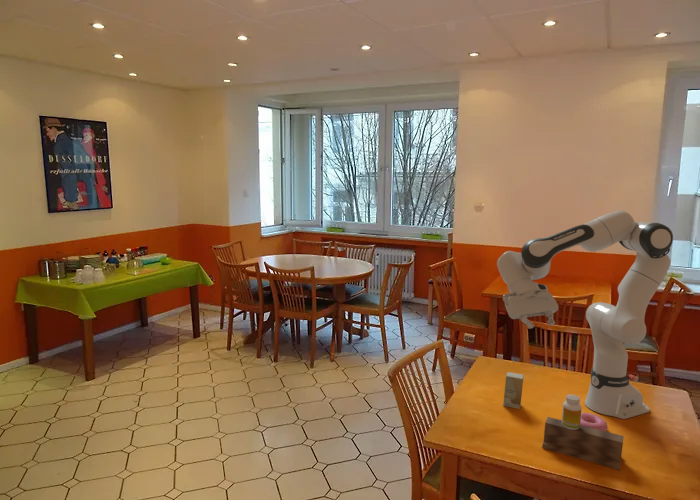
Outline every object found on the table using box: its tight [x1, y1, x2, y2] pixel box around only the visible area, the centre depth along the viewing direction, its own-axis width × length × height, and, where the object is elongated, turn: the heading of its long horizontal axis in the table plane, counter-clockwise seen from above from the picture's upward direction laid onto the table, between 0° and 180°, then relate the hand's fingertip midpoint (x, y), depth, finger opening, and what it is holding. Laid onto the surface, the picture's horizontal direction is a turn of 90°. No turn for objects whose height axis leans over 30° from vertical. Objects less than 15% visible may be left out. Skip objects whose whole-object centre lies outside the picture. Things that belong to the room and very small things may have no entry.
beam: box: [541, 416, 625, 471], centre depth 154 cm, size 22×8×8 cm, turn 59°
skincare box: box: [502, 371, 524, 410], centre depth 184 cm, size 6×4×12 cm
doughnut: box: [580, 412, 609, 432], centre depth 169 cm, size 11×11×4 cm
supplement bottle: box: [561, 394, 582, 430], centre depth 154 cm, size 5×5×10 cm
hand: (542, 326), depth 168 cm, fingers open, 8 cm apart
